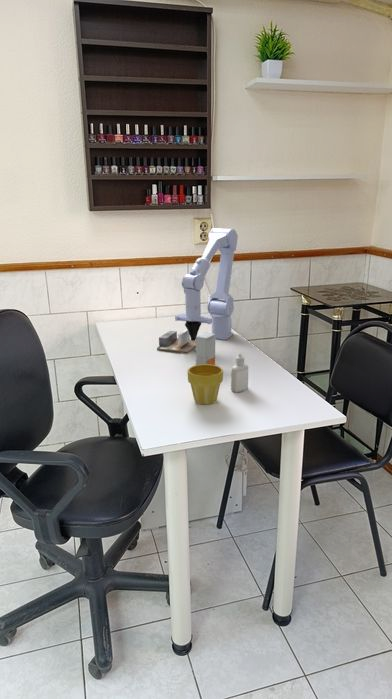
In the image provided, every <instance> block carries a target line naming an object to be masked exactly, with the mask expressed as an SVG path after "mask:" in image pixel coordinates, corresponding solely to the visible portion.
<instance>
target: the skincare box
mask: <svg viewBox="0 0 392 699" xmlns="http://www.w3.org/2000/svg"><path fill="white" fill-rule="evenodd" d="M200 364H211V365H216V338H215V334H212V332H204V333H200V334H199V335H197V336H196V348H195V365H200Z"/></svg>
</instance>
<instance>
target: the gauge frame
mask: <svg viewBox="0 0 392 699" xmlns="http://www.w3.org/2000/svg"><path fill="white" fill-rule="evenodd" d="M177 332H178V331H176V330H169V331H168V332H166V333H163V335H161V336H159V337H158V346H157V347H156V351H163V352H169V353H170V352H171V353H179V354H186V355H187V354H190V353H191V352H192V351H193V350H194V349H195V350H196V340H195V341H192V340H191V339H190V341H188V342H187V343H186V344H184V345H183V346H180V347H179V348H177V349H175V347H177V346H178V333H177Z"/></svg>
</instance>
